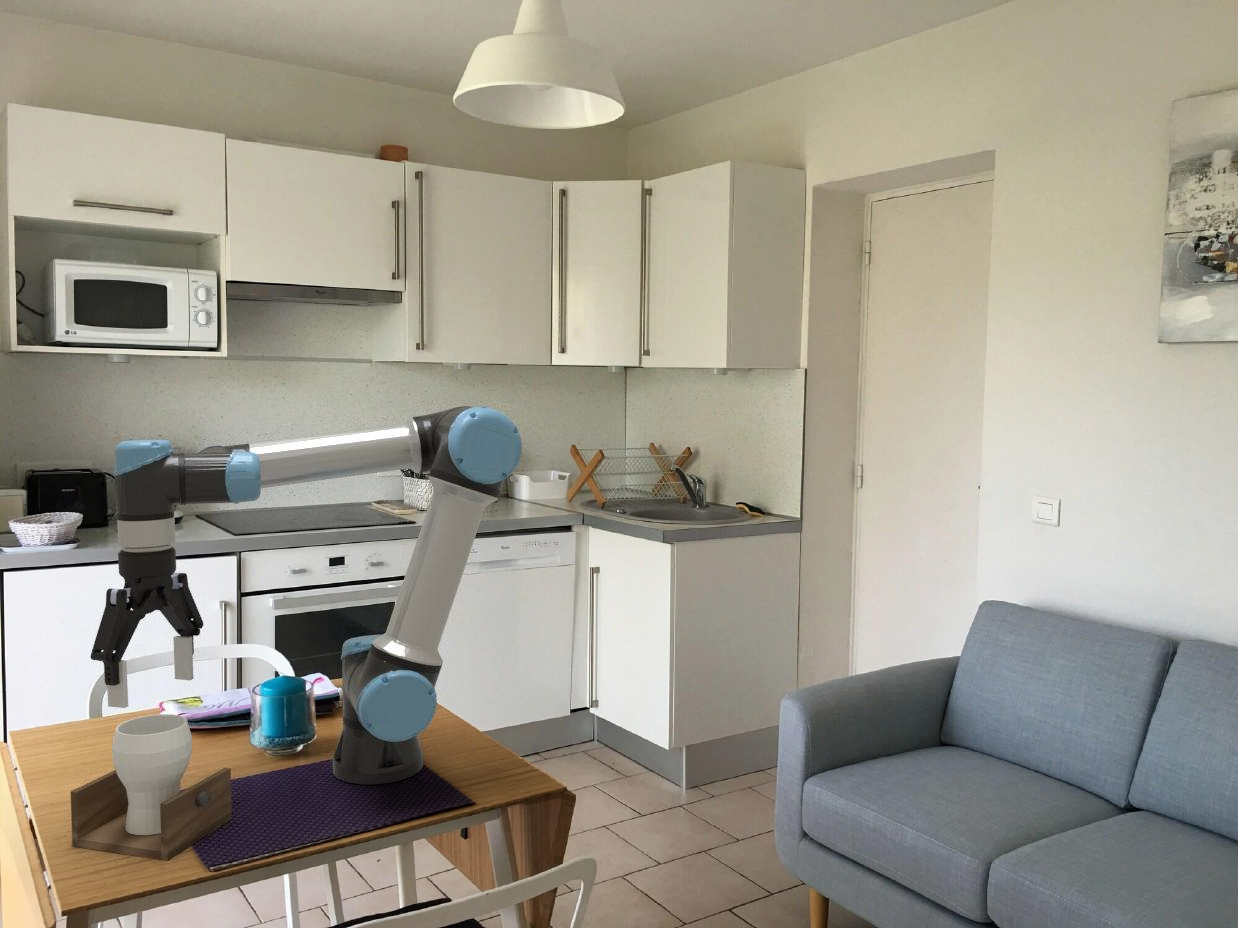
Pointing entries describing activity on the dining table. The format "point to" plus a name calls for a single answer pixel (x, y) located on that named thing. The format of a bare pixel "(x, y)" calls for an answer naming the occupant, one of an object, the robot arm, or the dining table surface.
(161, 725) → the cup
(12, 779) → the dining table surface
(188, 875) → the dining table surface
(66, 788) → the dining table surface
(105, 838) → the holder
